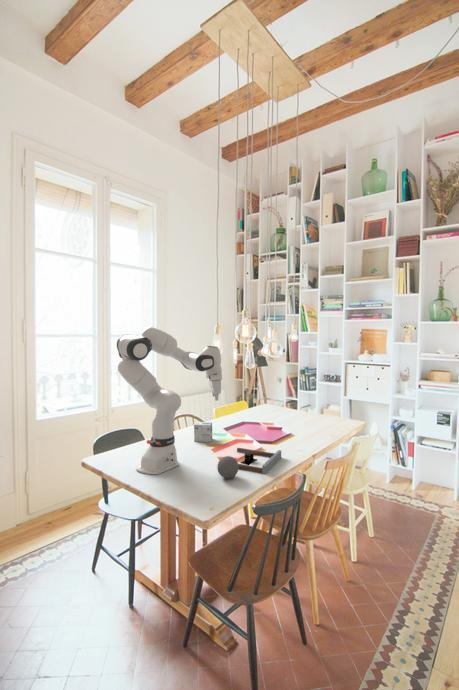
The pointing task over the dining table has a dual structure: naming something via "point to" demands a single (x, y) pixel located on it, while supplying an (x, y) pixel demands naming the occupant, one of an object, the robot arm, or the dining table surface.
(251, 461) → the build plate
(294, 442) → the dining table surface
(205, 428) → the light bulb box
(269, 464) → the frame
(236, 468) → the decorative ball
